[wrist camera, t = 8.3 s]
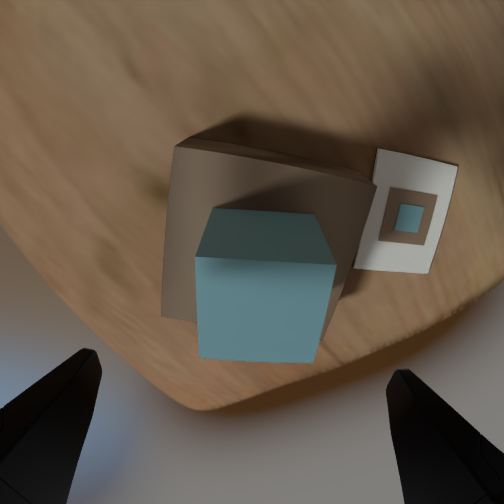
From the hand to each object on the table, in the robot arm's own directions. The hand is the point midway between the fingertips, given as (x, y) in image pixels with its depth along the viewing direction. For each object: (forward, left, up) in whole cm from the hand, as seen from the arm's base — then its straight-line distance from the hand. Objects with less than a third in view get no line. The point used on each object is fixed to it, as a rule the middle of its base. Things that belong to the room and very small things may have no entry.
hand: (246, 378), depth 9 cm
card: (-10, -1, -12) cm, 16 cm away
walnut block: (0, +1, -13) cm, 13 cm away
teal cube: (-1, +1, -9) cm, 9 cm away
